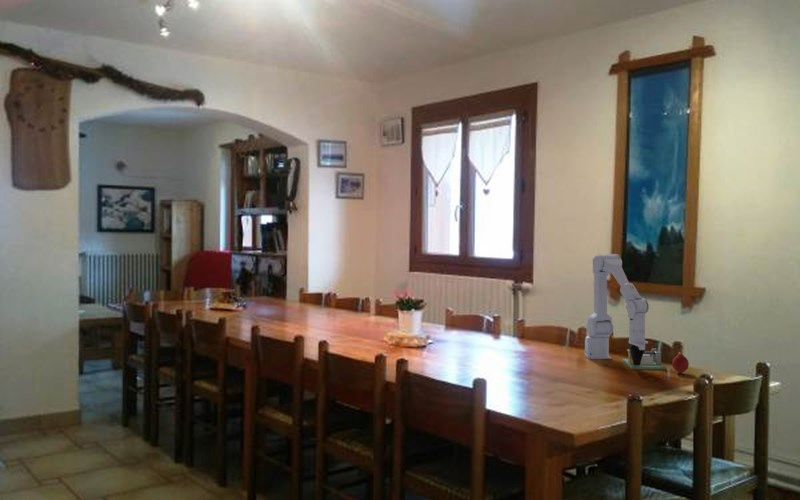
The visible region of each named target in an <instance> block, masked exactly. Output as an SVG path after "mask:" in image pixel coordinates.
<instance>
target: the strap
mask: <svg viewBox="0 0 800 500" xmlns="http://www.w3.org/2000/svg"><path fill="white" fill-rule="evenodd" d="M656 352H657V350H656V351H652V350H650V351H648V350H645V352H644V353H643V354H649V355H651V354H656ZM627 353H628V354H629V352H628V351H627Z"/></svg>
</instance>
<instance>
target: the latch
mask: <svg viewBox="0 0 800 500" xmlns="http://www.w3.org/2000/svg"><path fill="white" fill-rule="evenodd" d="M626 351H627V353H628V352H629V353H628V355H627V359H628V364H630V365H634V364H633V360H632V355H631V352H630V350H629V348H628V349H626Z"/></svg>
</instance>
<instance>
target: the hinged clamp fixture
mask: <svg viewBox="0 0 800 500" xmlns="http://www.w3.org/2000/svg"><path fill="white" fill-rule="evenodd" d="M651 351H656V354H643V356H642V359H641V363H640V365H630V364H628V358H622V359H621V362H622V363H623V364H625V365H626V366H627V367H628V368H629V367H630V368H631V369H630V370H660V371H661V370H666V366H665V365H663V364H662V351H657V348H651Z"/></svg>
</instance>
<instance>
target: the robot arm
mask: <svg viewBox="0 0 800 500" xmlns="http://www.w3.org/2000/svg"><path fill="white" fill-rule="evenodd" d="M592 274H593V313H592V314H591V315H589V316H588V317H587V322H586V327H585V328H586V332H587V333H588V335H587V336H585V338H584V356H585V357H586V358H587V359H588V360H592V359H593V360H596V359H597V360H601V359H602V360H611V359H612V357H611V356H610V355H609V354H610V353H609V343H610V342H609V340H610V339H609V338H610V337H611V335H612V334H613V332H614V324H613V317H612V316H610V315H609V314H608V276H609V275H610V274H612V275H613V277H614V278H615V280H616V282H617V283H618V285H619V286H620V289H619V292H620V294H621V296H622V297H623V299H624V301H625V303H626V306H625V308H626V312H627V317H628V319H629V322H628V324H629V325H628V326H629V327H628V328H629V331H628V332H629V333H628V334H629V336H628V344H630V345H628V349H629V350H630V352H631V355H632V360H633V364H634V365H640V363H641V359H642V356H643V353H644V352H645V351H647V350H646V349H647V348H646V344H649V341H648V340H646V314H647V313H648V312H649V309H650V308H649V307H650V305H649V302H648V300H647V299H646V298H644V297H643V296H641V295H640V294H639V292H638V290H637V288H636V287H635V285H634V283H630V282H629V280H628V278H627V275H626V274H625V272H624V269H623V260H622V258H621V255H620V254H618V253H612V254H596V255H595V256H594V257H593V258H592Z"/></svg>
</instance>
